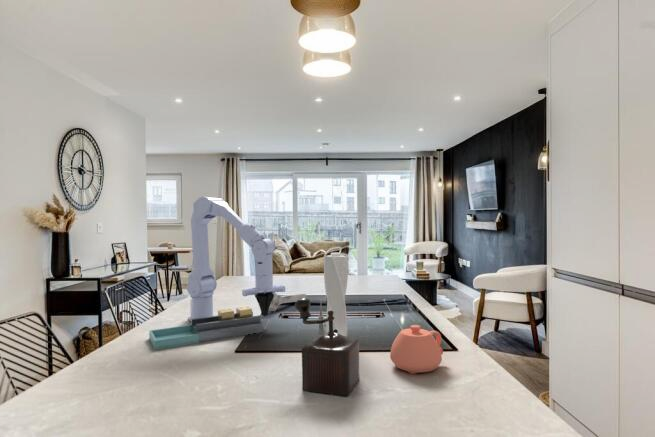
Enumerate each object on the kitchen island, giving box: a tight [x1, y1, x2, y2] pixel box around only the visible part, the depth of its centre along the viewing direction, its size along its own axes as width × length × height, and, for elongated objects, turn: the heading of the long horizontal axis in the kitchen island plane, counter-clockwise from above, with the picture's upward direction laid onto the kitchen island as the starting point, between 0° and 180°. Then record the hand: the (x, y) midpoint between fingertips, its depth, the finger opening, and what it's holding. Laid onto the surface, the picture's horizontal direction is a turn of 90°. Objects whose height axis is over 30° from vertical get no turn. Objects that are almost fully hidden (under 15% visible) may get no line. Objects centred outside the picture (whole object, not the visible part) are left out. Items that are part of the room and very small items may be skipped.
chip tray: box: [148, 324, 200, 351], centre depth 125 cm, size 12×12×2 cm
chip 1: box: [217, 308, 235, 321], centre depth 133 cm, size 4×4×4 cm
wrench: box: [268, 292, 307, 312], centre depth 170 cm, size 8×2×30 cm
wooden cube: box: [235, 306, 253, 319], centre depth 136 cm, size 4×4×4 cm
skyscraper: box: [317, 246, 349, 337], centre depth 123 cm, size 8×8×28 cm
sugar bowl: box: [389, 324, 444, 375], centre depth 102 cm, size 12×14×10 cm
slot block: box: [189, 311, 264, 344], centre depth 133 cm, size 12×20×5 cm, turn 120°
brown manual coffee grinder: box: [294, 297, 360, 398], centre depth 93 cm, size 16×11×18 cm
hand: (264, 315), depth 139 cm, fingers closed
